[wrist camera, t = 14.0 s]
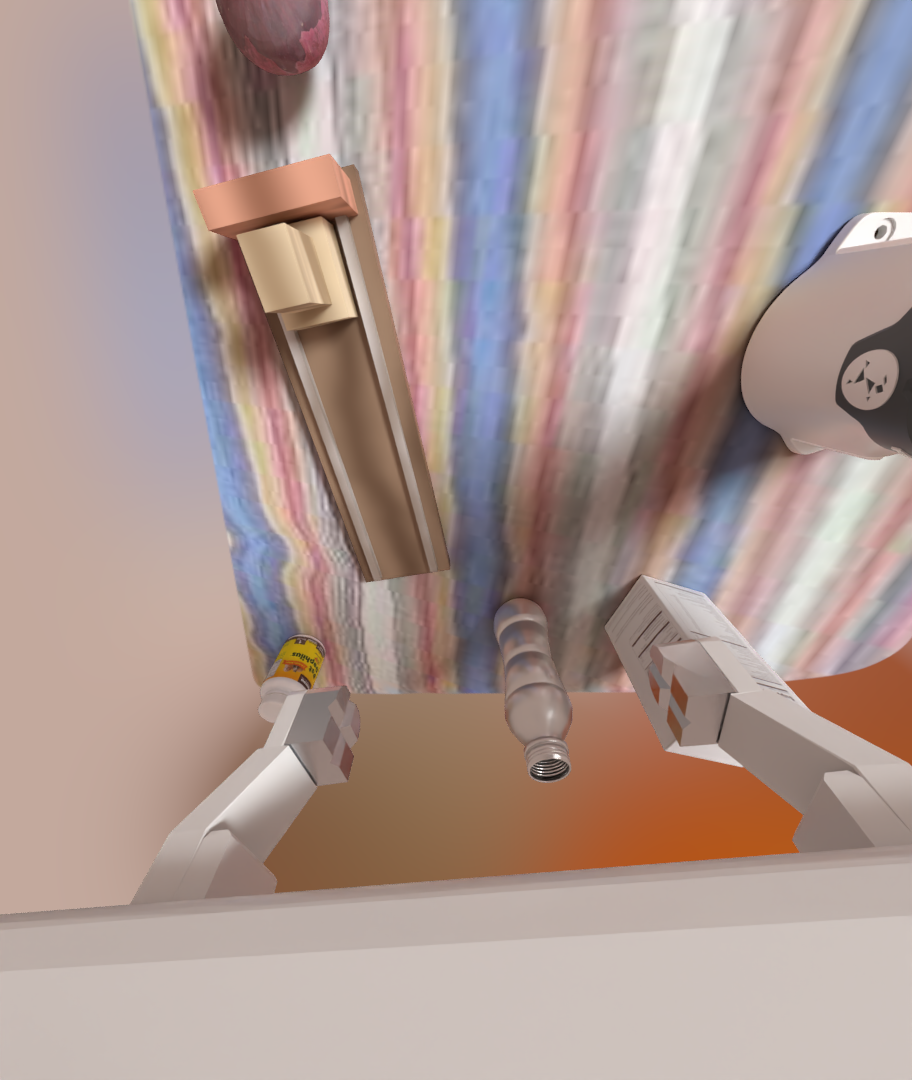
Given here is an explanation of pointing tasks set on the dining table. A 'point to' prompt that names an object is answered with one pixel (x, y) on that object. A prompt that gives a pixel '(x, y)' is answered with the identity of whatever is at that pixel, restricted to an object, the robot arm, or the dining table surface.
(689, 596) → the supplement box
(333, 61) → the dining table surface
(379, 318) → the rail board
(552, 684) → the plastic bottle
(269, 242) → the block
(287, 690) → the supplement bottle
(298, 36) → the vegetable
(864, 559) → the dining table surface
